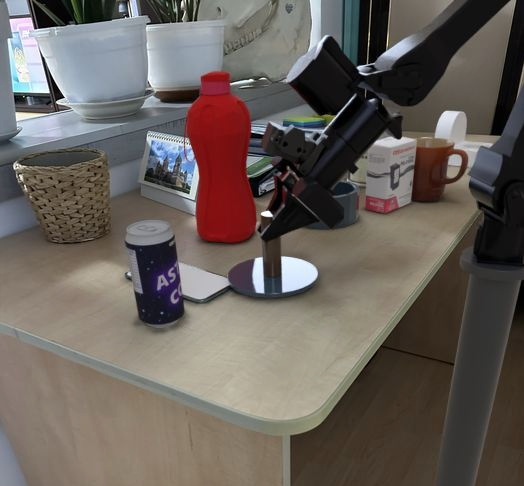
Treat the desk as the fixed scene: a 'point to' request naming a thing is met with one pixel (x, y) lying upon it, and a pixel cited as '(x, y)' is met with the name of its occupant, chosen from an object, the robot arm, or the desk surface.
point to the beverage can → (155, 272)
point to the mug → (434, 168)
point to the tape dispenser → (457, 136)
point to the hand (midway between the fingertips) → (260, 236)
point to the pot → (344, 204)
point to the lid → (272, 271)
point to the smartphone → (199, 283)
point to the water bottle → (221, 161)
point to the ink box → (390, 174)
